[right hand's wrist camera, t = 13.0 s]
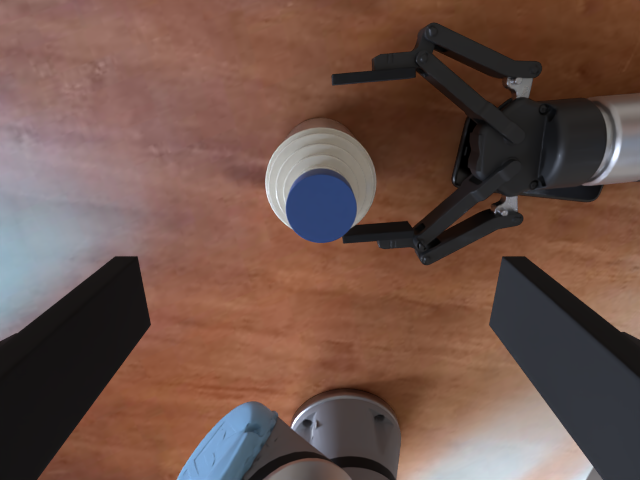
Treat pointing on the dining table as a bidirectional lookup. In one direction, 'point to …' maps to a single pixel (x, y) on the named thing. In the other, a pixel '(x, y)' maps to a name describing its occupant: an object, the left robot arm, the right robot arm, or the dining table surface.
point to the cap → (321, 205)
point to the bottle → (320, 163)
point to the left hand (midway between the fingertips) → (337, 163)
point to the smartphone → (566, 193)
